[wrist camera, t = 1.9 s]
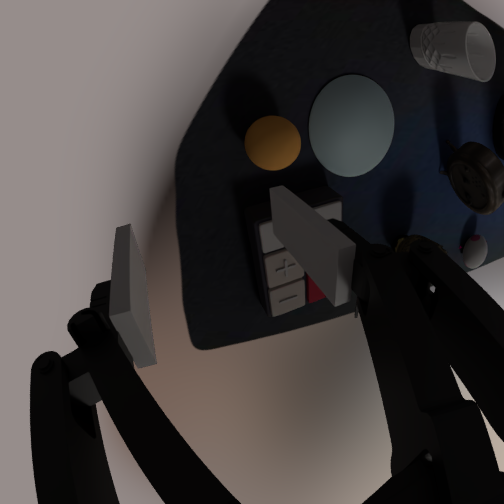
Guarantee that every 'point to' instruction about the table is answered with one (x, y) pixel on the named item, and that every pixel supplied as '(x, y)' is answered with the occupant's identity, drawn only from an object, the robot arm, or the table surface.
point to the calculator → (285, 254)
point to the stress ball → (474, 251)
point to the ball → (272, 142)
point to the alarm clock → (476, 177)
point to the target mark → (351, 125)
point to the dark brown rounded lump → (404, 243)
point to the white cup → (455, 48)
